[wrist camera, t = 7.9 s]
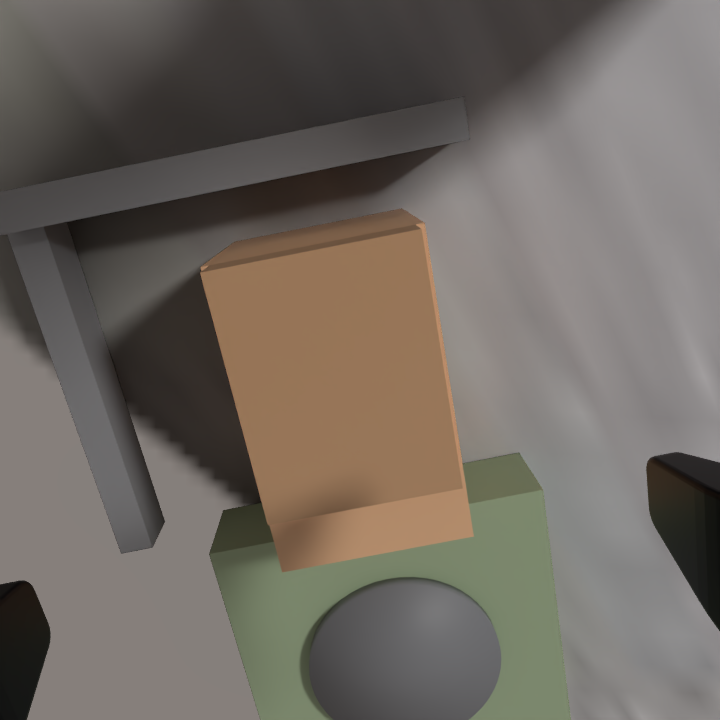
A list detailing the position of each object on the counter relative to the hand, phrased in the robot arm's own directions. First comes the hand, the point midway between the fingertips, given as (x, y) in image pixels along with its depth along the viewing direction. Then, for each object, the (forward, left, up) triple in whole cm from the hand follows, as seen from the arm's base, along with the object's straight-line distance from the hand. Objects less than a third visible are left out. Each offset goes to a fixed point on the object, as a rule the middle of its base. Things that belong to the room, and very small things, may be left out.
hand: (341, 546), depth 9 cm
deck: (+1, +4, -11) cm, 12 cm away
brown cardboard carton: (0, 0, -11) cm, 11 cm away
